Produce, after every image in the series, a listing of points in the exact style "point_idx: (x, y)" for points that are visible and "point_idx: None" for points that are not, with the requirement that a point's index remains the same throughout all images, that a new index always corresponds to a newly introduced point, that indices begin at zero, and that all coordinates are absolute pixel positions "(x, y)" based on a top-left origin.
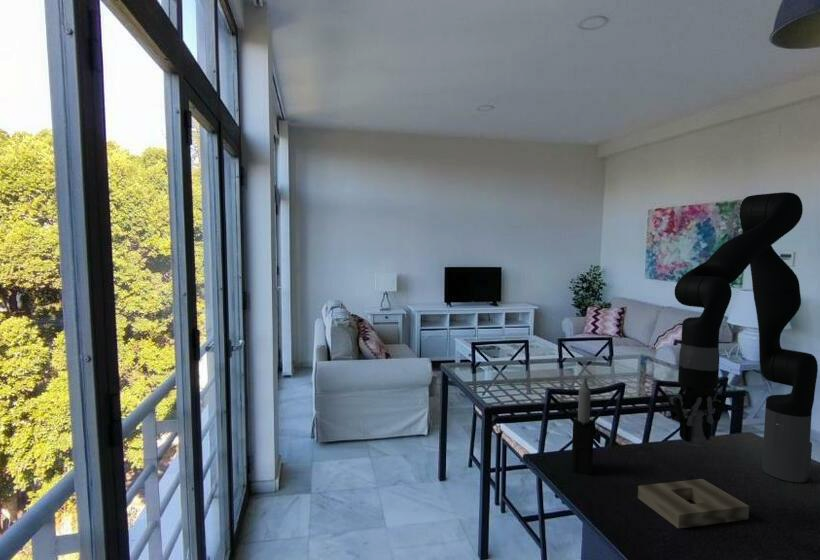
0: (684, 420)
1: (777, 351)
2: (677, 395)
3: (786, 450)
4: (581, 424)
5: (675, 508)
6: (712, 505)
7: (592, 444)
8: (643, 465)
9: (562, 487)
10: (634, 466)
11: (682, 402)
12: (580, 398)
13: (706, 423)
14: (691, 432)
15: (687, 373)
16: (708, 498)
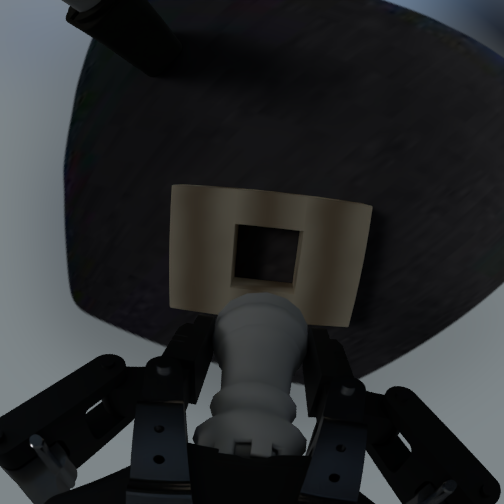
0: (132, 418)
1: None
2: (29, 496)
3: None
4: (71, 19)
5: (180, 288)
6: None
7: (123, 46)
8: (327, 63)
9: (75, 121)
10: (299, 60)
11: (133, 460)
12: None
13: (314, 410)
14: (221, 367)
15: None
16: (296, 279)
